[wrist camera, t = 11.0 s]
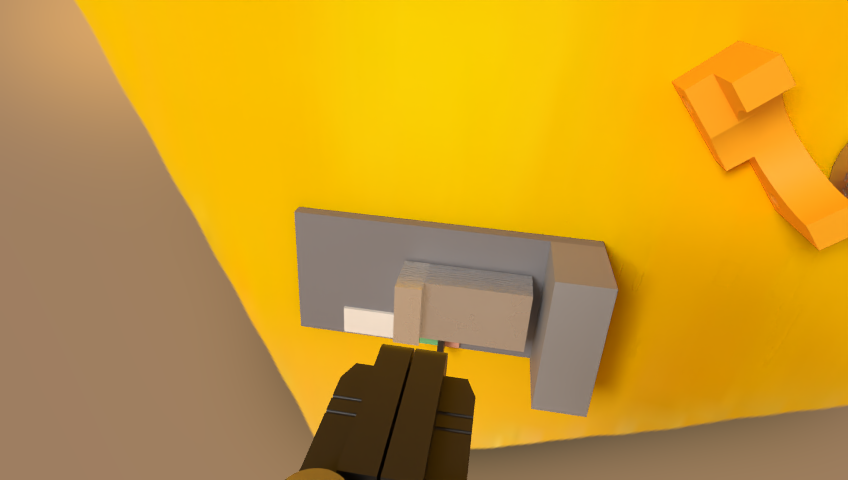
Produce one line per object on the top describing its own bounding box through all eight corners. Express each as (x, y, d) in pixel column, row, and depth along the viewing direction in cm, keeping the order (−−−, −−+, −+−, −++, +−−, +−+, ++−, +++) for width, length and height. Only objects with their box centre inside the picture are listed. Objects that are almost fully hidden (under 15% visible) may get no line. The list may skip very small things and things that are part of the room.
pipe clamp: (670, 81, 36) (699, 102, 30) (737, 40, 34) (781, 54, 29) (749, 221, 39) (788, 264, 33) (813, 190, 38) (866, 229, 32)
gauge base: (603, 241, 41) (618, 289, 35) (577, 357, 46) (586, 416, 40) (299, 206, 44) (263, 245, 38) (305, 319, 49) (274, 369, 43)
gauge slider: (532, 276, 42) (533, 304, 39) (519, 355, 46) (519, 388, 42) (404, 260, 43) (394, 286, 40) (401, 339, 47) (391, 369, 43)
